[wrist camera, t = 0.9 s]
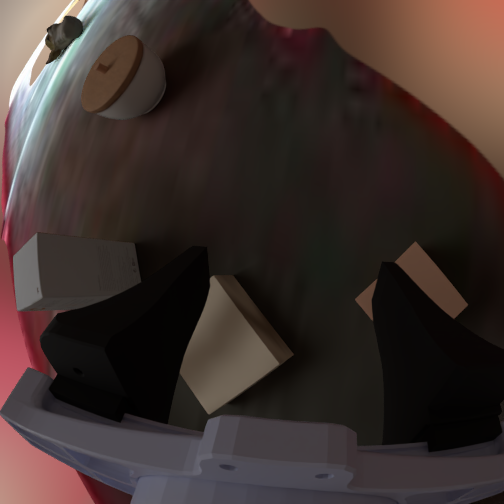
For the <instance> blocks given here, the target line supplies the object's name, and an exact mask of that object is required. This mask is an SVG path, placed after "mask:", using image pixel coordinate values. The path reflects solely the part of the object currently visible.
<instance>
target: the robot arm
mask: <svg viewBox="0 0 504 504" xmlns="http://www.w3.org/2000/svg"><path fill="white" fill-rule="evenodd" d="M209 290H210V277H209V266H208V254H207V247H200V246H192V247H191V248H189V249H188V250H186V251H185V252H184V253H182V254H181V255H179V256H178V257H177V258H175V259H174V260H173V261H171V262H170V263H169V264H167V265H166V266H165V267H163V268H162V269H160V270H159V271H157V272H156V273H154V274H153V275H151V276H150V277H148V278H147V279H145V280H144V281H142V282H140V283H138V284H137V285H135V286H133V287H131V288H129V289H127V290H125V291H123V292H121V293H119V294H117V295H115V296H112V297H110V298H108V299H105V300H103V301H100V302H97V303H95V304H92V305H89V306H86V307H82V308H79V309H75V310H71V311H67V312H62V313H58V314H57V315H56V316H55V317H54V319H53V320H52V321H51V323H50V324H49V325H48V327H47V328H46V329H45V331H44V332H43V333H42V335H41V336H40V343H41V348H42V350H43V352H44V354H45V355H46V357H47V359H48V360H49V362H50V363H51V365H52V366H53V368H54V370H55V371H56V373H57V376H56V378H55V379H54V380H53V379H52V378H51V377H49V376H48V375H46V374H44V373H41V372H39V371H37V370H34V369H32V368H27V369H26V371H25V373H24V374H23V376H22V377H21V379H20V380H19V382H18V383H17V385H16V386H15V388H14V389H13V391H12V392H11V394H10V396H9V397H8V399H7V401H6V402H5V404H4V405H3V407H2V409H1V410H0V415H1V416H2V417H3V419H5V421H7V422H8V423H9V424H10V425H11V426H12V427H13V428H14V429H15V430H16V431H17V432H18V433H19V434H20V435H21V436H22V437H23V438H24V439H26V440H27V441H28V442H29V443H30V444H31V445H33V446H35V447H36V448H38V449H40V450H41V451H43V452H45V453H47V454H48V455H50V456H52V457H54V458H56V459H57V460H59V461H61V462H63V463H65V464H67V465H69V466H70V467H72V468H74V469H76V470H78V471H80V472H82V473H84V474H86V475H88V476H90V477H92V478H94V479H96V480H98V481H101V482H103V483H105V484H107V485H109V486H112V487H114V488H116V489H119V490H121V491H123V492H126V493H128V494H131V495H133V498H132V501H131V504H469V503H472V502H475V501H478V500H481V499H484V498H487V497H490V496H493V495H496V494H498V493H501V492H503V491H504V420H503V421H501V422H500V421H499V417H498V415H500V414H501V412H502V410H501V406H500V403H501V402H502V401H503V400H504V349H502V348H500V347H497V346H495V345H493V344H491V343H490V342H488V341H486V340H484V339H483V338H481V337H479V336H478V335H476V334H474V333H473V332H471V331H470V330H468V329H467V328H465V327H464V326H463V325H461V324H460V323H458V322H457V321H456V320H455V319H453V318H452V317H451V316H450V315H448V314H447V313H446V312H445V311H444V310H442V309H441V308H440V307H439V306H438V305H437V304H436V303H435V302H434V301H433V300H432V299H431V298H430V297H429V296H428V295H427V294H426V293H425V292H424V291H423V290H422V289H421V288H420V287H419V286H418V285H417V284H416V283H415V282H414V281H413V280H412V279H411V278H410V277H409V275H408V274H407V273H406V272H405V271H404V270H403V269H402V268H401V267H400V266H399V265H398V264H397V263H394V262H382V264H381V268H380V271H379V275H378V279H377V282H376V286H375V290H374V293H373V297H372V300H371V301H372V314H373V323H374V328H375V333H376V337H377V342H378V347H379V352H380V357H381V362H382V369H383V381H384V429H383V442H382V445H377V446H357V433H356V432H354V431H353V430H351V429H349V428H348V427H346V426H344V425H339V424H332V423H321V422H303V421H289V420H278V419H268V418H259V417H251V416H243V415H221V416H218V417H215V418H212V419H209V420H208V422H207V424H206V427H205V430H204V432H199V431H194V430H189V429H185V428H180V427H176V426H172V425H167V424H168V419H169V414H170V409H171V404H172V400H173V395H174V391H175V387H176V383H177V380H178V376H179V372H180V369H181V365H182V362H183V358H184V355H185V352H186V349H187V347H188V344H189V342H190V340H191V337H192V335H193V333H194V331H195V328H196V326H197V324H198V321H199V319H200V317H201V314H202V312H203V310H204V307H205V304H206V301H207V297H208V294H209Z"/></svg>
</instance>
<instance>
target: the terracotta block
mask: <svg viewBox="0 0 504 504" xmlns="http://www.w3.org/2000/svg"><path fill="white" fill-rule="evenodd" d="M394 263H397V264H398V265H399V266H400V267H401V268H402V269H403V270H404V271H405V272H406V273H407V274H408V275H409V277H410V278H411V279H412V280H413V281H414V282H415V283H416V284H417V285H418V286H419V287H420V288H421V289H422V290H423V291H424V292H425V293H426V294H427V295H428V296H429V297H430V298H431V299H432V300H433V301H434V302H435V303H436V304H437V305H438V306H439V307H440V308H441V309H442V310H444V311H445V312H446V313H447V314H448V315H450V316H451V317H452V318H453V319H454V318H455V317H456V316H457V315H458V314H459V313H461V312H462V311H463V310H464V309H465V308H466V307H467V306H468V304H467V303H466V302H465V300H464V299H463V298H462V296H461V295H460V294H459V293H458V291H457V290H456V289H455V287H454V286H453V285H452V284H451V283H450V281H449V280H448V279H447V278H446V276H445V275H444V274H443V273H442V272H441V270H440V269H439V268H438V267H437V266H436V264H435V263H434V262H433V261H432V260H431V259H430V257H429V256H428V255H427V254H426V253H425V252H424V250H423V249H422V248H421V247H420V246H419V245H418V244H417V243H416V241H415V242H414V243H413V244H412V245H411V246H410V247H409V249H408V250H407V251H406V252H404V253H403V254H402V255H401V256H400V257H399V258H398V259H397V260H396V261H395V262H394ZM376 282H377V279H376V280H375V281H374V282H373V283H372V284H371V285H370V286H369V287H368V288H367V289H366V290H365V291H363V292H362V293H361V294H360V295H359V296H358V297H357V298H356V299H355V300H356V301H357V303H358V304H359V305H360V306H361V307H362V309H363V310H364V311H365V312H366V313H367V315H368V316H369V317H370V318H371V319H372V321H373V314H372V301H371V300H372V297H373V293H374V290H375V286H376Z"/></svg>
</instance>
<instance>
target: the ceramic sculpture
mask: <svg viewBox="0 0 504 504" xmlns="http://www.w3.org/2000/svg"><path fill="white" fill-rule="evenodd" d="M82 28H83V25H82V22H81V21H80V20H79V19H77V18H76V17H73V16H65V17H64V20H63V22H62V23H60V24H53V25H51V26H50V27H48V28H47V32H48V34H47V36H46V39H45V43H46V45H47V46H48V47H49V48H50V50H51V53H50V55H49V59H48V61H47V62H46V64H49V63H51V62H52V61H54V60H55V59H56V58H57V57H58V56H59V55H60V53H61V51H62V50H63V49H65V48H66V47H67V46H68V45H69V44H70V43H71V41H72V39H76V38H78V37H79V35H80V34H81V33H82V30H83V29H82Z"/></svg>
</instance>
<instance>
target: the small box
mask: <svg viewBox="0 0 504 504" xmlns="http://www.w3.org/2000/svg"><path fill="white" fill-rule="evenodd" d="M13 265H14V282H15V294H16V304H17V310H18V311H44V310H68V309H79V308H82V307H86V306H89V305H92V304H95V303H97V302H100V301H103V300H105V299H108V298H110V297H112V296H115V295H117V294H119V293H121V292H123V291H125V290H127V289H129V288H131V287H133V286H135V285H137V284H138V283H140V282H141V278H140V272H139V266H138V260H137V255H136V249H135V244H134V243H131V242H122V241H112V240H103V239H94V238H85V237H75V236H66V235H57V234H48V233H40V232H37V233H36V234H35V235H34V236H33V237H32V238H31V239H30V240H29V241H28V242H27V243H26V244H25V245H24V246H23V247H22V248H21V249H20V250H19V251H18V252H17V253H16V254H15V255H14V256H13Z"/></svg>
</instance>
